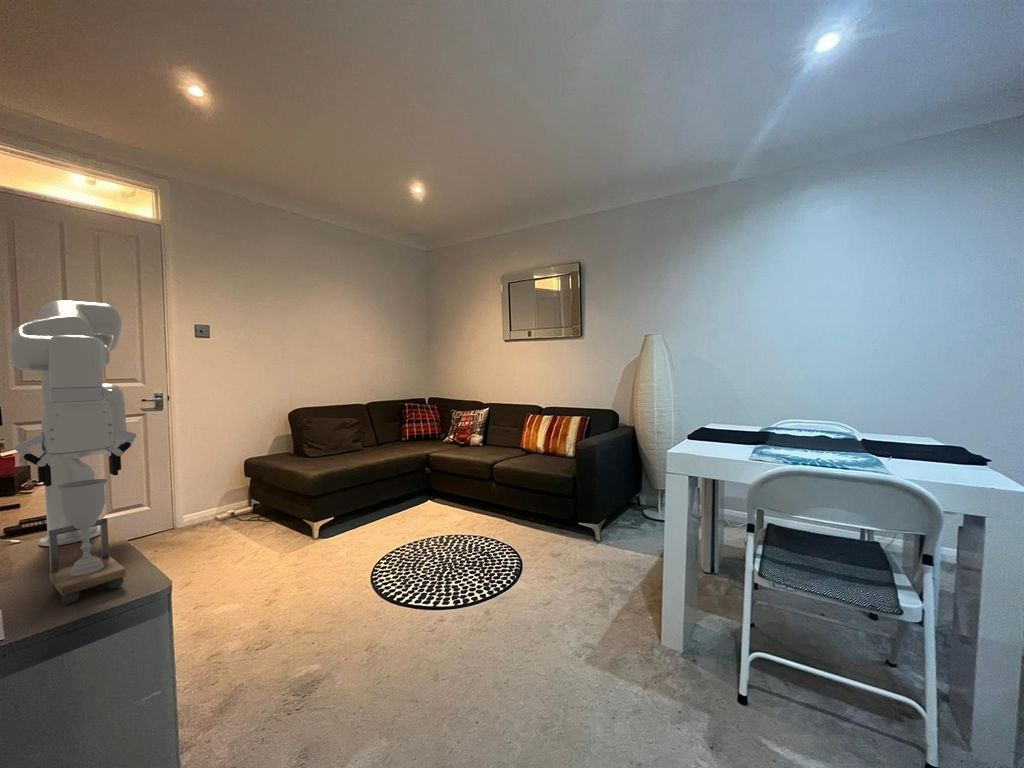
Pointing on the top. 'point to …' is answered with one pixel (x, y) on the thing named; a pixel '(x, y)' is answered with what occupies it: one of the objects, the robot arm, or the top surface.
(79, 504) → the chalice
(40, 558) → the top surface
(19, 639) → the top surface
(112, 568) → the cart
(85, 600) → the top surface
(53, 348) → the robot arm
